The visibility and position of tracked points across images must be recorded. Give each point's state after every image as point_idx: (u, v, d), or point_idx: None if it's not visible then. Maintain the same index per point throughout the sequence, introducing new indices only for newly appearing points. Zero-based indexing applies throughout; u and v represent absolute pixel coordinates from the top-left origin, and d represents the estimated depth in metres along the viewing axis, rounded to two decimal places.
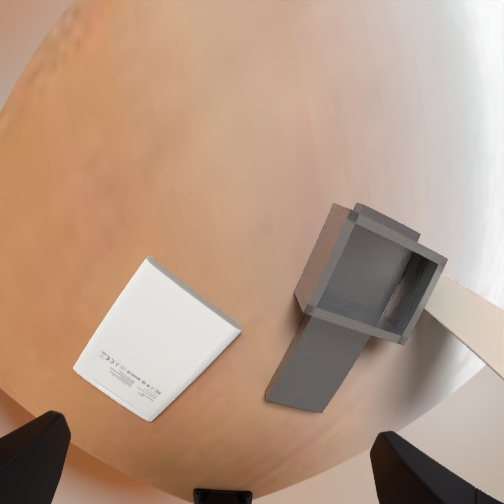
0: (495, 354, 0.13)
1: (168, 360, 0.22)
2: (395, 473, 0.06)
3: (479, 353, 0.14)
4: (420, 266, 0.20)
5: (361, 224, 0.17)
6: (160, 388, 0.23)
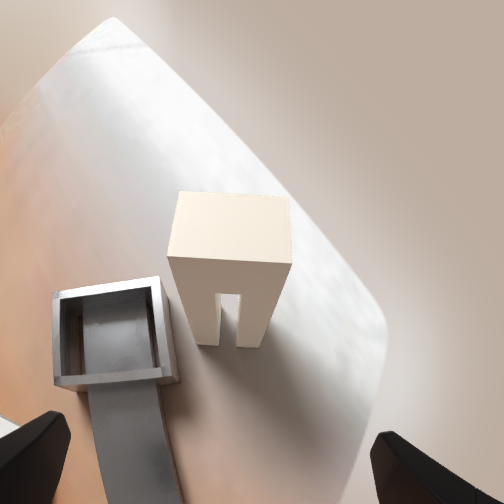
0: None
1: None
2: (395, 473, 0.06)
3: None
4: None
5: (64, 297, 0.19)
6: None
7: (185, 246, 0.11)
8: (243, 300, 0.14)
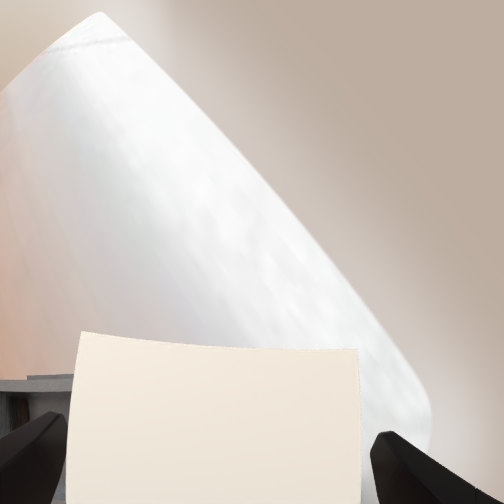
0: None
1: None
2: (395, 473, 0.06)
3: None
4: None
5: None
6: None
7: (101, 493, 0.03)
8: None
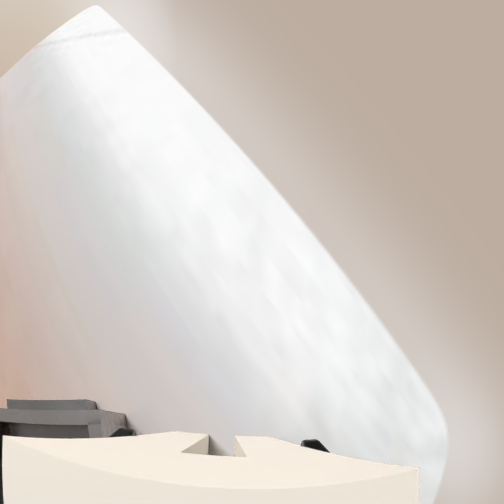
0: None
1: None
2: None
3: None
4: None
5: None
6: None
7: None
8: None
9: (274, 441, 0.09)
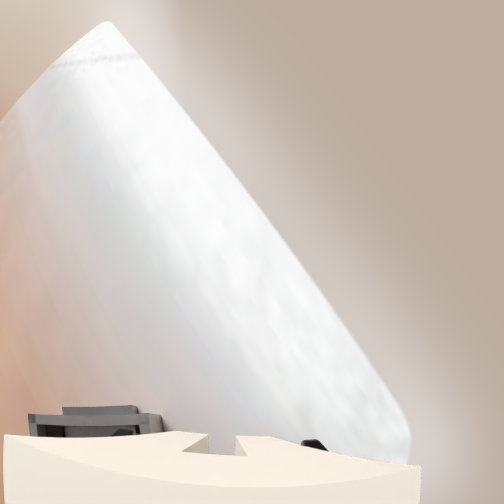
0: None
1: None
2: None
3: None
4: None
5: (41, 422, 0.13)
6: None
7: None
8: None
9: (275, 441, 0.09)
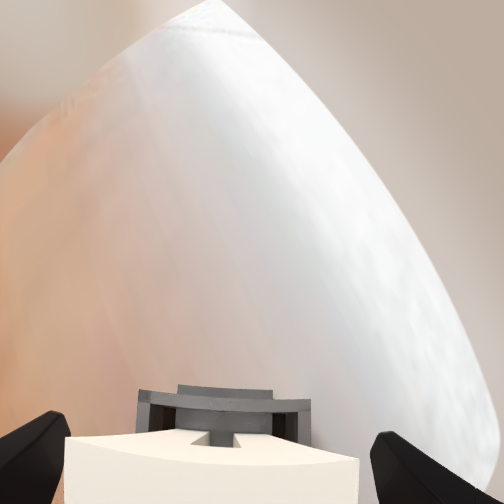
0: None
1: None
2: (395, 473, 0.06)
3: None
4: (290, 425, 0.15)
5: (158, 402, 0.13)
6: None
7: None
8: None
9: (267, 437, 0.11)
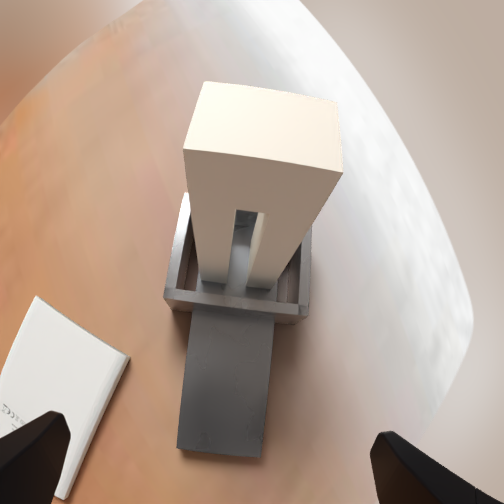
0: None
1: (61, 404, 0.16)
2: (395, 473, 0.06)
3: None
4: None
5: None
6: None
7: (208, 139, 0.08)
8: (268, 222, 0.12)
9: None
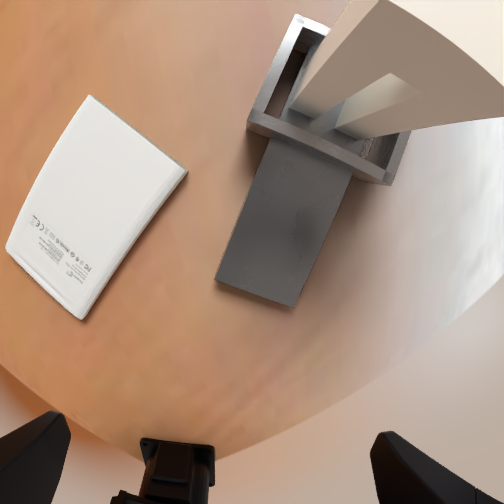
0: (348, 25, 0.07)
1: (100, 217, 0.18)
2: (395, 473, 0.06)
3: (331, 52, 0.08)
4: None
5: (310, 28, 0.13)
6: (90, 262, 0.18)
7: (413, 0, 0.04)
8: (414, 99, 0.08)
9: None
